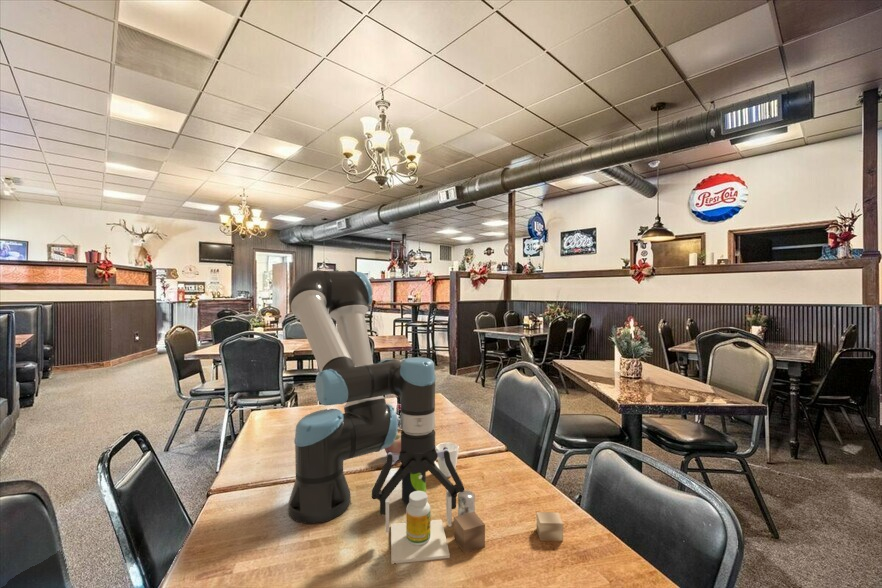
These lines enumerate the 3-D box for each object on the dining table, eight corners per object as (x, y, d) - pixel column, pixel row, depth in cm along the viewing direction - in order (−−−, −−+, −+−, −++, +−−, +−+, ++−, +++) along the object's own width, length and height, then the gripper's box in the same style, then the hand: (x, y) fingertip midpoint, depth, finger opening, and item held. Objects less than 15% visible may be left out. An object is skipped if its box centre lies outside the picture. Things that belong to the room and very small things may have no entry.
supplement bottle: (406, 531, 85) (406, 489, 85) (429, 529, 85) (429, 488, 85) (406, 547, 79) (406, 502, 79) (431, 545, 80) (431, 501, 80)
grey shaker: (459, 525, 88) (459, 500, 87) (456, 515, 92) (456, 491, 91) (476, 524, 88) (476, 499, 88) (472, 514, 92) (472, 490, 92)
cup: (448, 481, 107) (448, 454, 107) (423, 470, 114) (423, 444, 114) (463, 472, 113) (463, 446, 112) (439, 462, 119) (439, 437, 119)
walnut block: (464, 553, 78) (464, 530, 78) (454, 538, 83) (454, 516, 83) (485, 547, 80) (484, 524, 80) (474, 533, 85) (474, 511, 85)
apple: (380, 462, 120) (380, 437, 120) (390, 452, 127) (390, 428, 127) (403, 465, 117) (403, 440, 117) (412, 455, 125) (412, 431, 125)
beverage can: (399, 496, 100) (399, 441, 100) (421, 492, 102) (421, 437, 102) (405, 509, 94) (405, 450, 94) (428, 504, 96) (428, 446, 96)
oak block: (540, 540, 82) (540, 523, 82) (536, 529, 86) (536, 512, 86) (563, 541, 82) (563, 523, 82) (558, 529, 86) (558, 512, 86)
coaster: (391, 564, 75) (391, 561, 75) (391, 526, 87) (391, 523, 87) (449, 557, 77) (449, 555, 77) (441, 521, 89) (441, 519, 89)
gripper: (358, 439, 76) (359, 542, 77) (477, 432, 80) (477, 531, 80) (361, 426, 84) (362, 519, 84) (470, 420, 87) (470, 510, 88)
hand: (418, 525), depth 82 cm, fingers open, 13 cm apart
